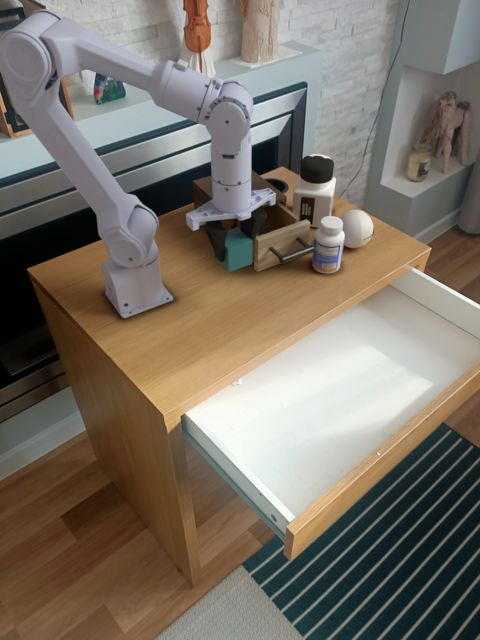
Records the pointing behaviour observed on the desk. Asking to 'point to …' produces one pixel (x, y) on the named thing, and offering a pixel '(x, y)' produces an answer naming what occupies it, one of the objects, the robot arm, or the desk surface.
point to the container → (314, 189)
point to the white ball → (356, 228)
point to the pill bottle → (328, 245)
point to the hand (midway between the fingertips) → (233, 253)
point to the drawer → (279, 238)
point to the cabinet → (204, 194)
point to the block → (237, 250)
